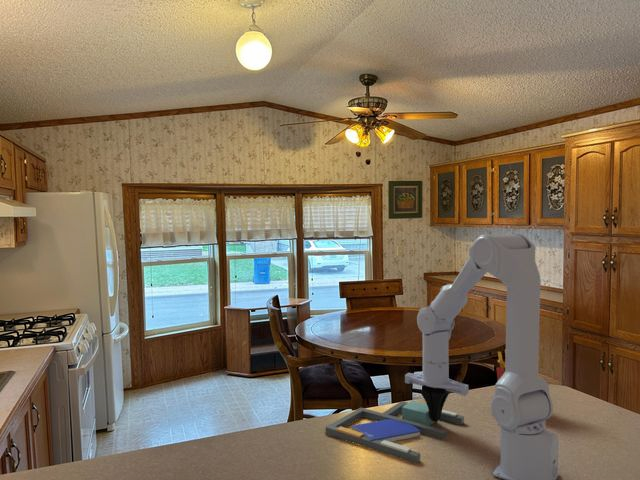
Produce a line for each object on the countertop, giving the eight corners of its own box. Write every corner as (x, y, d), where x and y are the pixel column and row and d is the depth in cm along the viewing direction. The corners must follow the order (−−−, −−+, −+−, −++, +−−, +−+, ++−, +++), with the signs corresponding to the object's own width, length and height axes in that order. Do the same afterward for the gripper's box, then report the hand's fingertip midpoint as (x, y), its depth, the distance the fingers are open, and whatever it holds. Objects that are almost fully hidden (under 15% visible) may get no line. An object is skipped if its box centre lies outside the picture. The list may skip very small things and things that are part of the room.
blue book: (370, 439, 98) (420, 429, 104) (351, 424, 106) (398, 416, 111) (370, 447, 98) (419, 437, 104) (351, 431, 106) (398, 423, 111)
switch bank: (463, 422, 110) (463, 414, 110) (446, 437, 103) (446, 428, 103) (401, 407, 120) (401, 399, 120) (382, 419, 113) (382, 411, 113)
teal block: (435, 421, 111) (435, 406, 111) (425, 428, 107) (425, 413, 107) (412, 415, 115) (411, 400, 115) (401, 421, 111) (401, 407, 111)
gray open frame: (446, 437, 103) (446, 428, 103) (416, 463, 92) (416, 454, 92) (360, 413, 116) (360, 405, 116) (325, 433, 105) (325, 425, 105)
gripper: (473, 361, 107) (473, 421, 107) (414, 351, 116) (414, 407, 116) (461, 369, 101) (461, 432, 102) (400, 358, 110) (400, 416, 111)
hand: (435, 419), depth 109 cm, fingers closed
